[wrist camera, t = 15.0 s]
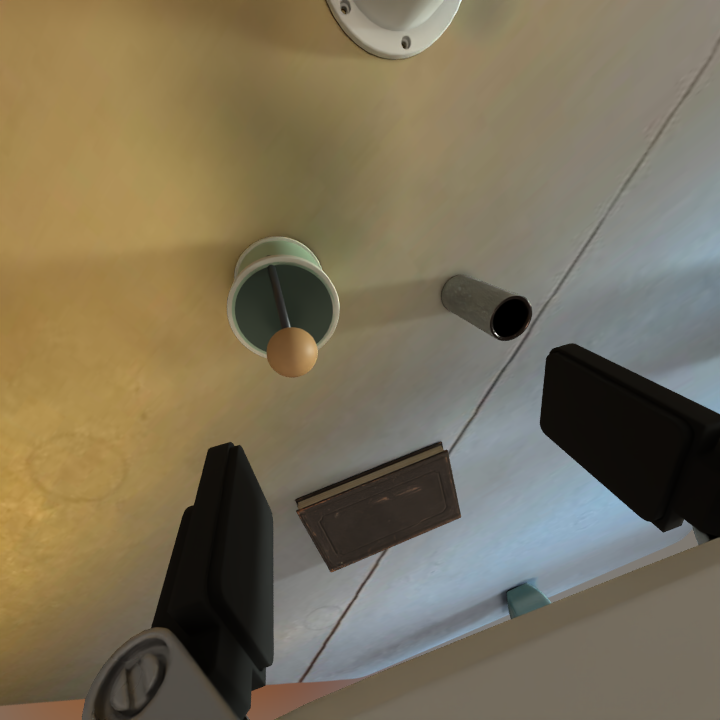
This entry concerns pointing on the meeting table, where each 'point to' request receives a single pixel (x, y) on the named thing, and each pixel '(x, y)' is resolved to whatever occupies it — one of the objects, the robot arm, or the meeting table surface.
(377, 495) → the hardcover book
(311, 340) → the green hollow rimmed cylinder
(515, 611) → the flower pot
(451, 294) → the grey hollow tube
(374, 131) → the meeting table surface
